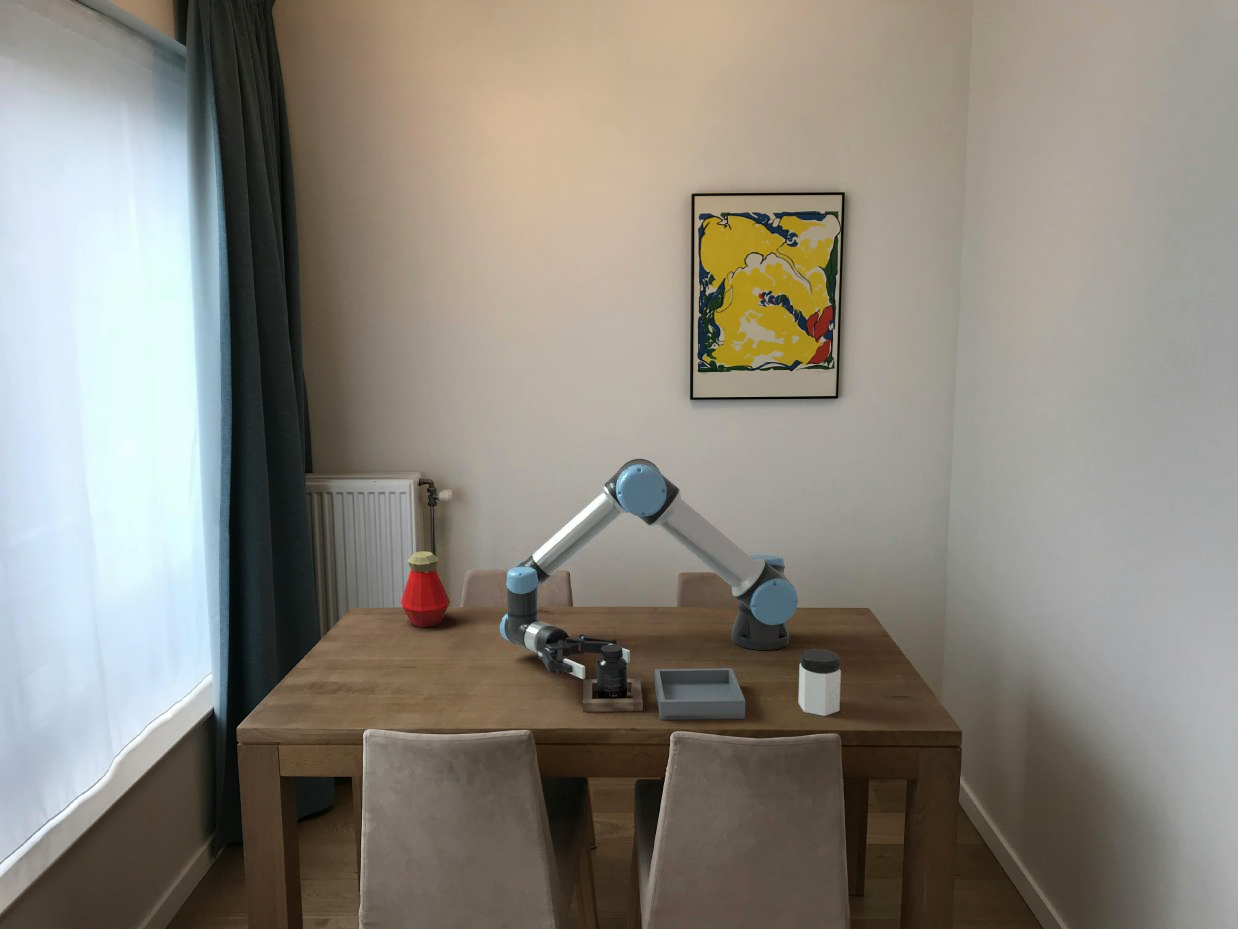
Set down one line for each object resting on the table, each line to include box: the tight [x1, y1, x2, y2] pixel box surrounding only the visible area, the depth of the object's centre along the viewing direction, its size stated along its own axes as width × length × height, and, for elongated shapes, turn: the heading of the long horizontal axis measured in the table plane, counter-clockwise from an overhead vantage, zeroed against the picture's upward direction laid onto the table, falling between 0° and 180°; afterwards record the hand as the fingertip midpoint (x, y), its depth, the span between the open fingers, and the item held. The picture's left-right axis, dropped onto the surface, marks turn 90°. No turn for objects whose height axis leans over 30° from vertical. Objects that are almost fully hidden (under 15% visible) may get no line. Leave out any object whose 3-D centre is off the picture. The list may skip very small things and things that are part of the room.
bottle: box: [400, 551, 451, 629], centre depth 244 cm, size 16×14×20 cm
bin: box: [654, 667, 746, 721], centre depth 192 cm, size 18×18×4 cm
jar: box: [797, 648, 842, 717], centre depth 188 cm, size 9×8×12 cm
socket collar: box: [582, 678, 644, 713], centre depth 193 cm, size 13×13×2 cm
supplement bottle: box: [596, 644, 628, 699], centre depth 193 cm, size 7×7×12 cm
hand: (606, 664), depth 193 cm, fingers open, 13 cm apart
